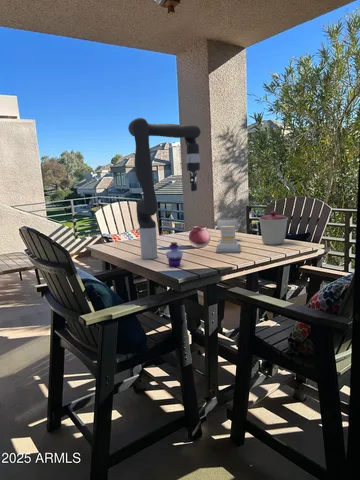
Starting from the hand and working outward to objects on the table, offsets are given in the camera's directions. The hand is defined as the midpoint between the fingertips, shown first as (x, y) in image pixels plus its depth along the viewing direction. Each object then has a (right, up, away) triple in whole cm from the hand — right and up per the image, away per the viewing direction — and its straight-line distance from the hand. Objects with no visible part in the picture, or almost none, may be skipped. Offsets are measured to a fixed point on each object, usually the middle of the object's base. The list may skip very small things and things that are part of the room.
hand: (194, 190), depth 203 cm
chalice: (+25, -29, +37) cm, 54 cm away
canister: (+52, -31, +21) cm, 64 cm away
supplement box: (+21, -33, +9) cm, 40 cm away
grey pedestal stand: (+21, -34, +9) cm, 41 cm away
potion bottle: (-11, -42, -26) cm, 50 cm away
